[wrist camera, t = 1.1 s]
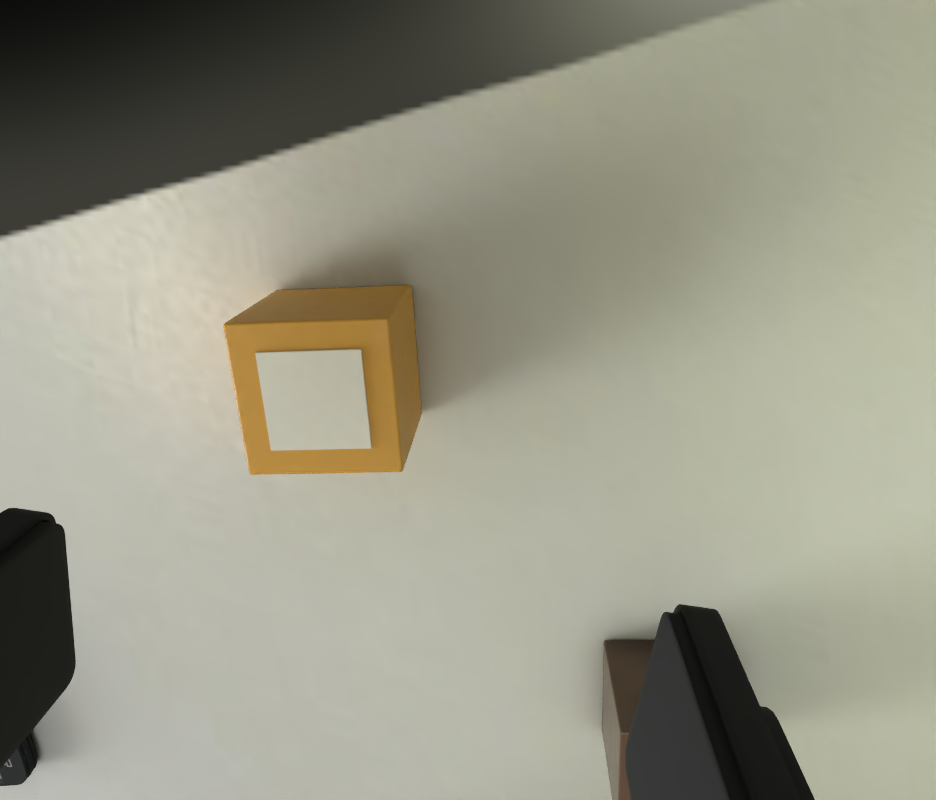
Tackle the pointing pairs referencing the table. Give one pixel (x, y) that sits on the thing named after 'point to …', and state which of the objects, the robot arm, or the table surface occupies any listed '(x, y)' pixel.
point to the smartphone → (19, 764)
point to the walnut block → (621, 704)
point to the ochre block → (327, 380)
